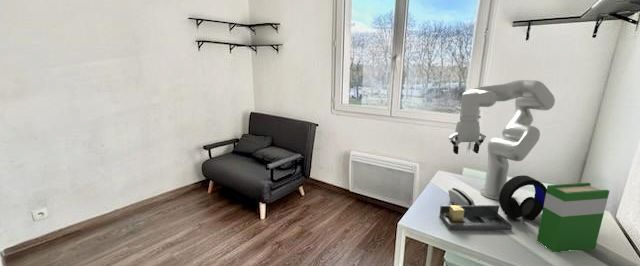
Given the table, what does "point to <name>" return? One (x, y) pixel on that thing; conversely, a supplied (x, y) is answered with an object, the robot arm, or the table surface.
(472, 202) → the white game console
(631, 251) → the table surface
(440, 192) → the table surface
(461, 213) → the brass peg
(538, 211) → the headphones
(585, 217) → the hardback book
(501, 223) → the grey slotted rack
